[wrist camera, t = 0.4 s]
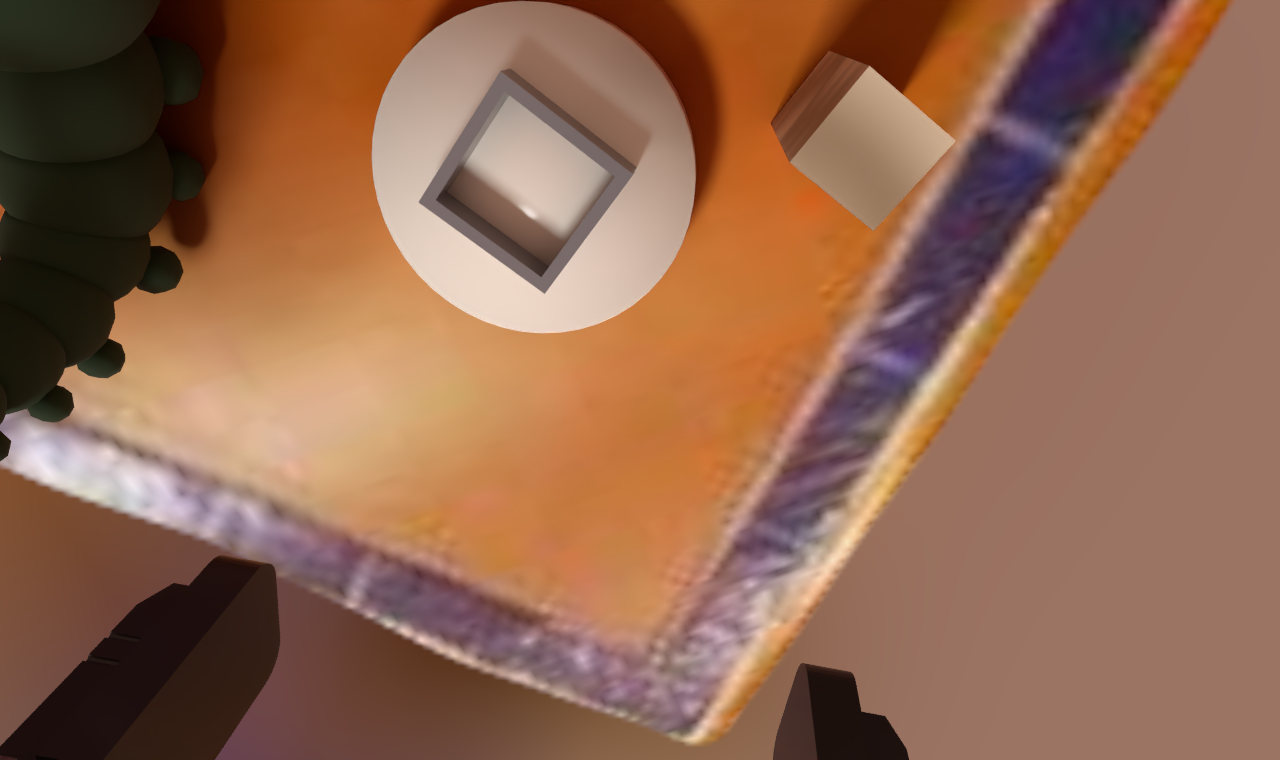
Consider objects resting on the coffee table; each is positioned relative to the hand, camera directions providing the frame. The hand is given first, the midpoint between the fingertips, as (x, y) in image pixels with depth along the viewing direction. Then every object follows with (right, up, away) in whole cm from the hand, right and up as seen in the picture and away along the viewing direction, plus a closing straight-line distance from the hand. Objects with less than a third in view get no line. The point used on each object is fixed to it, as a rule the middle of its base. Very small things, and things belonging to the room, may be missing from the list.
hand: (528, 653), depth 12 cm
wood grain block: (+9, +15, +20) cm, 26 cm away
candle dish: (-2, +13, +22) cm, 25 cm away
